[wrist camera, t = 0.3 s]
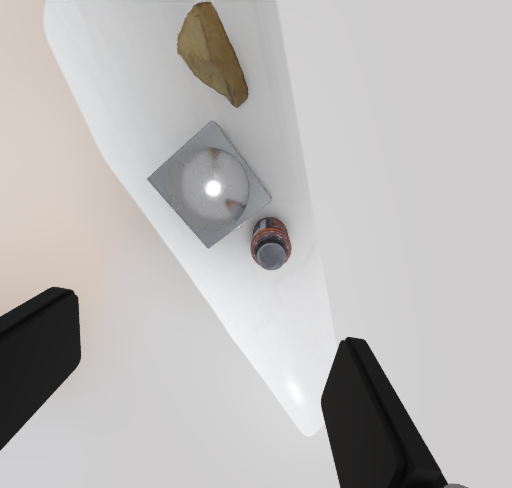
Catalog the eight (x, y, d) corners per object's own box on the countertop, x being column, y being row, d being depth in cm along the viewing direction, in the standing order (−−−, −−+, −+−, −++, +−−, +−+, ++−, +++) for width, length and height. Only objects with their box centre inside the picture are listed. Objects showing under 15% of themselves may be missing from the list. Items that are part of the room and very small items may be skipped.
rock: (269, 96, 35) (249, 5, 31) (229, 106, 29) (198, -4, 25) (217, 115, 42) (194, 43, 37) (177, 125, 36) (145, 42, 32)
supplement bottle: (293, 230, 44) (303, 254, 33) (272, 255, 45) (275, 285, 35) (267, 209, 43) (268, 227, 32) (246, 235, 44) (240, 260, 34)
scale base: (157, 176, 41) (146, 178, 37) (216, 123, 38) (211, 120, 35) (214, 242, 45) (210, 250, 41) (272, 198, 42) (273, 203, 38)
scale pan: (152, 182, 37) (150, 183, 36) (213, 128, 35) (212, 127, 34) (205, 243, 40) (204, 244, 39) (265, 197, 38) (265, 198, 37)
